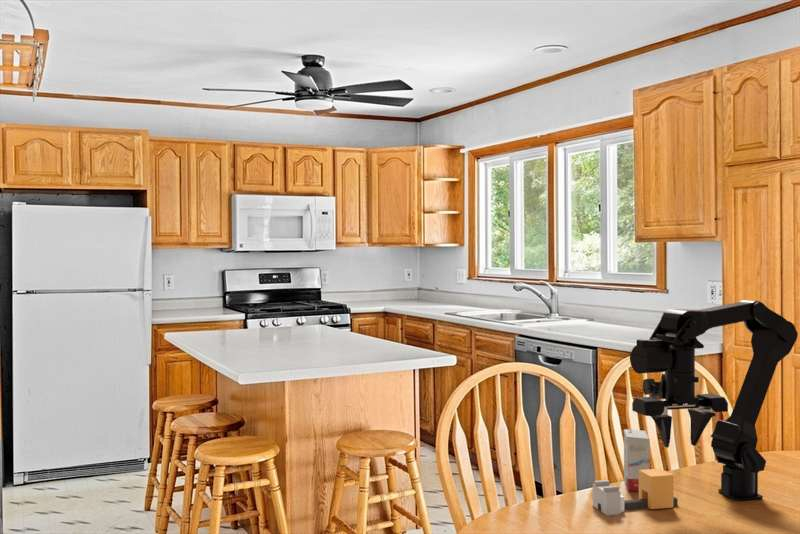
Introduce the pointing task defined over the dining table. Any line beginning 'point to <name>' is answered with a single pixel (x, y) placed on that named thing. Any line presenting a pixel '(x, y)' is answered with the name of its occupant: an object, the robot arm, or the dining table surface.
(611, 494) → the grey i-beam piece
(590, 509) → the dining table surface
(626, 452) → the ink box
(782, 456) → the dining table surface
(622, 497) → the cream flat block
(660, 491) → the notched orange cube
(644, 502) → the bar
